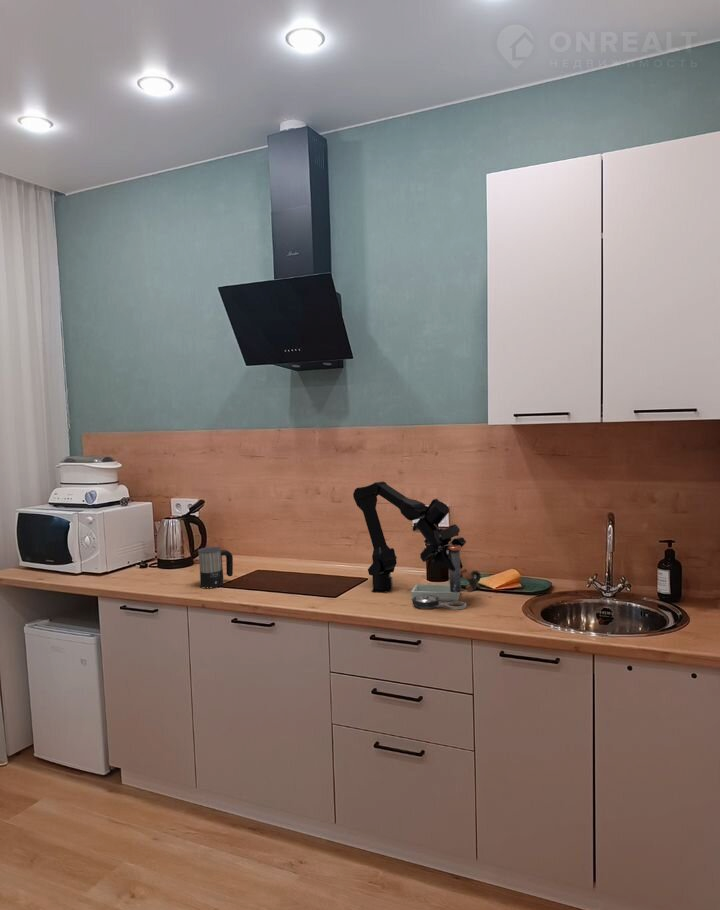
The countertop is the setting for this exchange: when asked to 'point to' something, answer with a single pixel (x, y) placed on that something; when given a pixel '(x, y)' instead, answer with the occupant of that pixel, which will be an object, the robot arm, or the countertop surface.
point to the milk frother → (213, 566)
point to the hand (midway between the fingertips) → (458, 569)
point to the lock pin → (455, 575)
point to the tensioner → (435, 603)
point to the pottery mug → (470, 579)
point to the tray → (435, 592)
